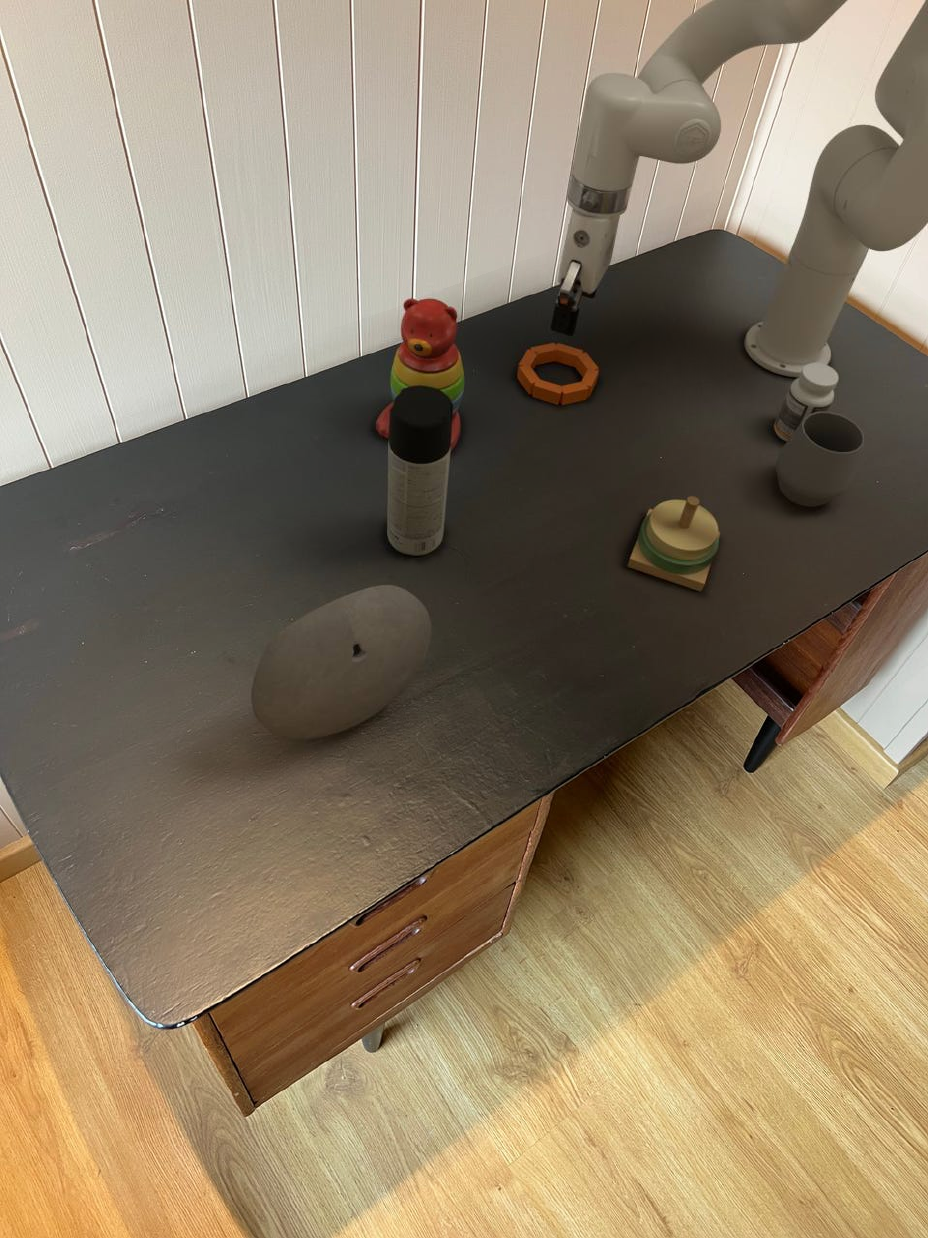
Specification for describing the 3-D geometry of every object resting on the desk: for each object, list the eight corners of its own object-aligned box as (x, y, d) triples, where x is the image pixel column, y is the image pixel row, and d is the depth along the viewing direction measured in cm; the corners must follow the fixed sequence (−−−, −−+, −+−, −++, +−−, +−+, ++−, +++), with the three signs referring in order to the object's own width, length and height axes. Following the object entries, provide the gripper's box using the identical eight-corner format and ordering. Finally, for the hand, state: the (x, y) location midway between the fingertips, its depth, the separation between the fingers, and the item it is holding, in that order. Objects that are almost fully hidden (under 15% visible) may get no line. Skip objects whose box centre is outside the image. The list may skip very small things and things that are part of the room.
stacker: (645, 516, 113) (663, 462, 106) (718, 539, 111) (741, 486, 104) (626, 567, 108) (643, 514, 100) (701, 592, 106) (725, 541, 99)
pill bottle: (811, 421, 126) (839, 362, 119) (816, 449, 123) (846, 390, 115) (770, 416, 127) (796, 356, 119) (774, 444, 123) (801, 384, 115)
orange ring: (533, 347, 132) (535, 335, 130) (603, 368, 130) (606, 357, 129) (508, 389, 126) (510, 377, 124) (581, 412, 124) (584, 400, 122)
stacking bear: (370, 433, 118) (369, 314, 104) (402, 389, 124) (405, 270, 110) (446, 459, 116) (456, 342, 102) (476, 413, 122) (488, 295, 108)
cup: (854, 498, 118) (888, 440, 110) (807, 528, 114) (839, 469, 106) (797, 456, 122) (827, 396, 114) (751, 483, 118) (778, 423, 110)
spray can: (451, 525, 110) (463, 392, 94) (431, 565, 106) (440, 433, 90) (399, 509, 110) (403, 375, 95) (378, 548, 106) (378, 414, 91)
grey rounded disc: (408, 655, 98) (413, 537, 83) (443, 704, 94) (455, 590, 79) (248, 731, 91) (222, 617, 76) (279, 787, 87) (259, 679, 72)
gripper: (609, 232, 105) (580, 356, 119) (646, 168, 115) (616, 289, 129) (547, 214, 106) (526, 338, 120) (590, 152, 116) (566, 273, 130)
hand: (573, 313), depth 124 cm, fingers open, 9 cm apart
